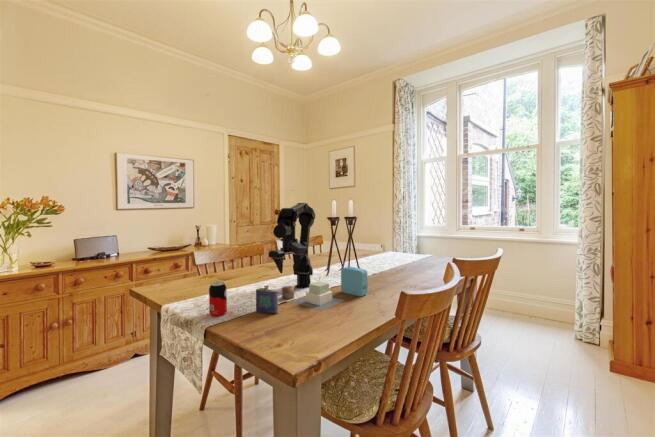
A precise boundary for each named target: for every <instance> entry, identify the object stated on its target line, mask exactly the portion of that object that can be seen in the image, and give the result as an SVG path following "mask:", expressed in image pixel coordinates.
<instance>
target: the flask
mask: <svg viewBox="0 0 655 437" xmlns="http://www.w3.org/2000/svg"><path fill="white" fill-rule="evenodd" d="M269 287H270V286H269V285H268V284H267V285H264V288H263V287H259V288H256V289H255V312H256V313H259V314H266V315H277V314H278V313H279V302H278V299H279V298H278V296H279V295H278V294H279V291H278V290H277V289H269Z"/></svg>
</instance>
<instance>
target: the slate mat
mask: <svg viewBox="0 0 655 437" xmlns="http://www.w3.org/2000/svg"><path fill="white" fill-rule="evenodd" d="M345 301H346V300H345V299H341V298H337V297H334V296H332V301H330V302H328V303H325V304H323V305H321V306H319V305H316V304H312V303H309V302H306V297H303V298H300V299H297V300H295V301H293V303H295V304H297V305H301V306H304V307H307V308H311V309H314V310H318V311H320V312H321V311H323V310H326V309H328V308H331V307H334V306H335V305H337V304H340V303H343V302H345Z"/></svg>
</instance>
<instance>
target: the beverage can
mask: <svg viewBox="0 0 655 437" xmlns="http://www.w3.org/2000/svg"><path fill="white" fill-rule="evenodd" d="M225 283H226V282H224V281H214V282H211V283H210V286H209V288H208V300H209V301H208V302H209V303H208V304H209V314H210V315H211V316H212V317H221V315H222V316H224V315H225V314H226V313H227V312H228V303H227V302H228V301H227V300H228V297H227V296H228V295H227V286H226V284H225Z"/></svg>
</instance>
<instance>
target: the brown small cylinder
mask: <svg viewBox="0 0 655 437" xmlns="http://www.w3.org/2000/svg"><path fill="white" fill-rule="evenodd" d="M281 289H282V290H281V293H282V294H281V296H282V297H281V299H282V300H286V301H287V300H289V301H290V300H293V299H295V286H293V285H284V286H282V288H281Z"/></svg>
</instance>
